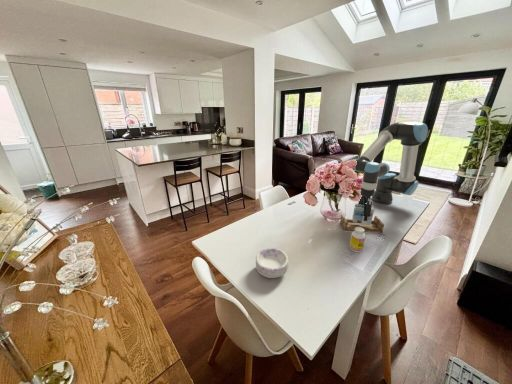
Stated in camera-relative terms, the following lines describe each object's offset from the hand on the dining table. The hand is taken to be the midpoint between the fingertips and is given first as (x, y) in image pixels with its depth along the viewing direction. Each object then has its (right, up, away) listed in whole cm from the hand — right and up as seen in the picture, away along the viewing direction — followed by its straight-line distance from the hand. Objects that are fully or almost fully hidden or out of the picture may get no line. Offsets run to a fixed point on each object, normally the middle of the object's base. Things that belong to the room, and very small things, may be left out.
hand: (361, 221), depth 134 cm
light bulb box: (0, 0, 0) cm, 0 cm away
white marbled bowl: (-60, -19, -34) cm, 72 cm away
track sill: (0, -4, +2) cm, 4 cm away
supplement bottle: (-13, -13, -19) cm, 26 cm away
